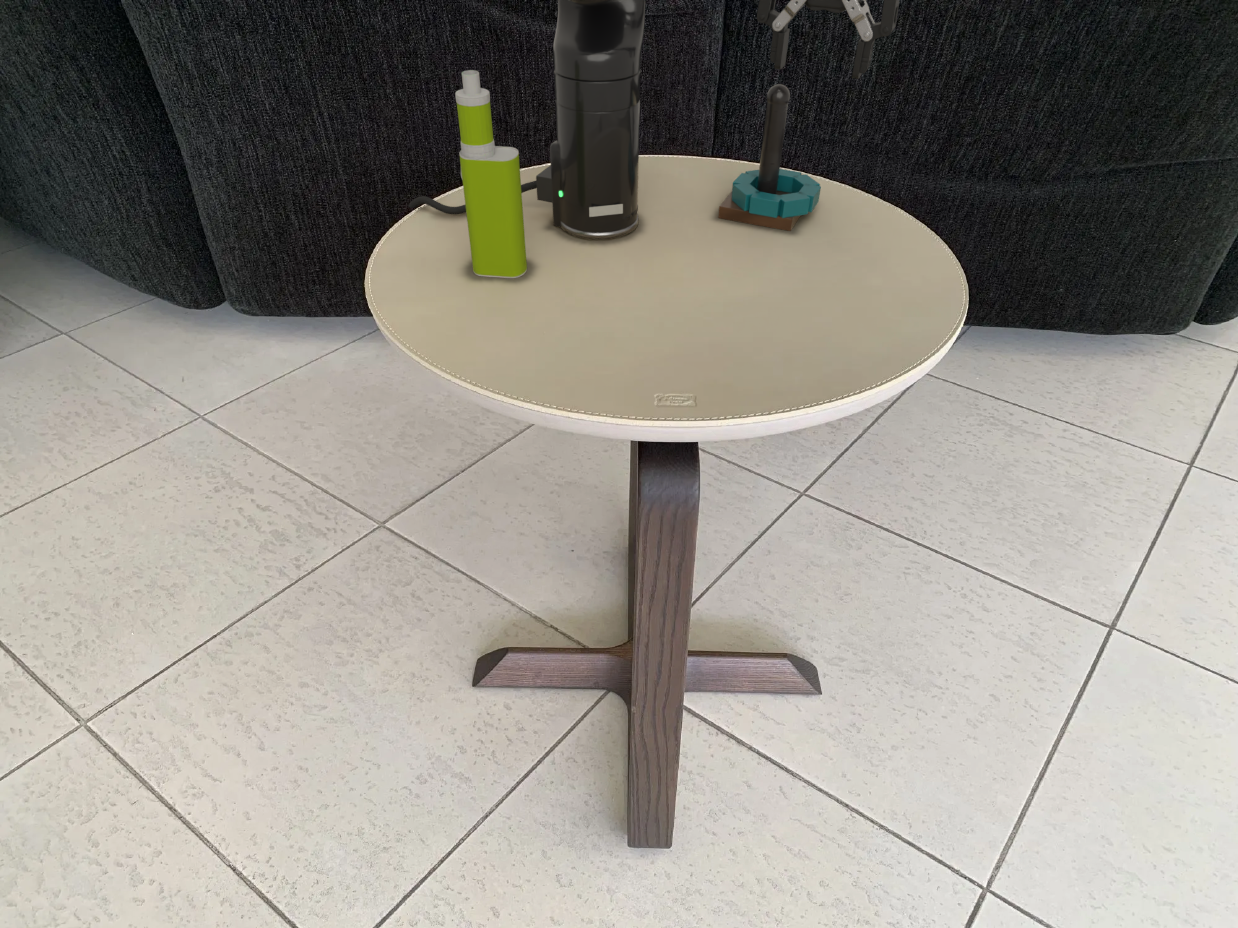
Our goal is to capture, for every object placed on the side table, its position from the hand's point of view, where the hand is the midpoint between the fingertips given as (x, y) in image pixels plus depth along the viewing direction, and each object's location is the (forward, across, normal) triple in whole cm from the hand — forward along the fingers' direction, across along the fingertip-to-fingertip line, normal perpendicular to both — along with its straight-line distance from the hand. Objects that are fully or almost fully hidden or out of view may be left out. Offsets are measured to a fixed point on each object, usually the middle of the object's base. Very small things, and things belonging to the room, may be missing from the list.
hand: (817, 72), depth 91 cm
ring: (+15, +3, 0) cm, 15 cm away
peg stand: (+16, +4, 0) cm, 17 cm away
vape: (+17, +26, +27) cm, 41 cm away
